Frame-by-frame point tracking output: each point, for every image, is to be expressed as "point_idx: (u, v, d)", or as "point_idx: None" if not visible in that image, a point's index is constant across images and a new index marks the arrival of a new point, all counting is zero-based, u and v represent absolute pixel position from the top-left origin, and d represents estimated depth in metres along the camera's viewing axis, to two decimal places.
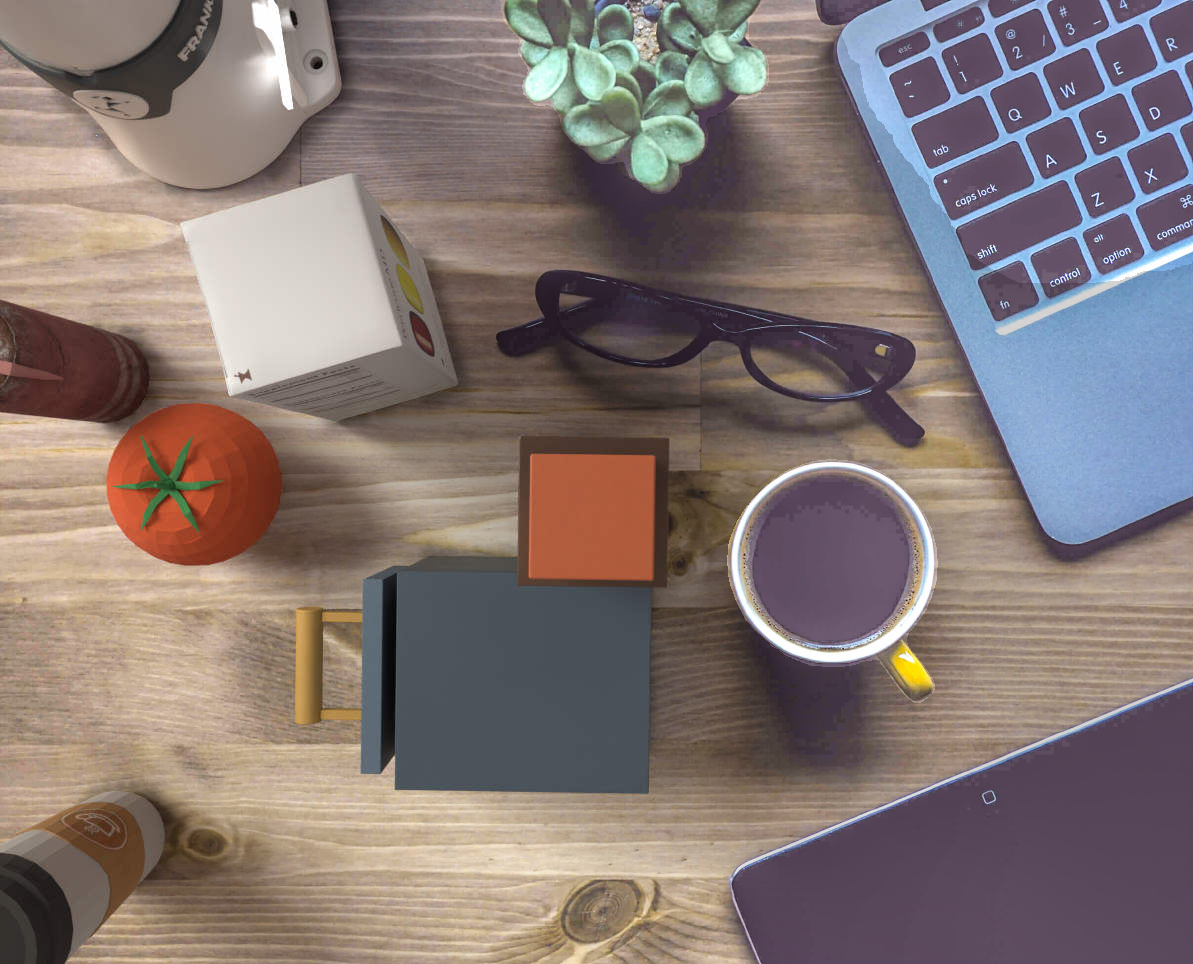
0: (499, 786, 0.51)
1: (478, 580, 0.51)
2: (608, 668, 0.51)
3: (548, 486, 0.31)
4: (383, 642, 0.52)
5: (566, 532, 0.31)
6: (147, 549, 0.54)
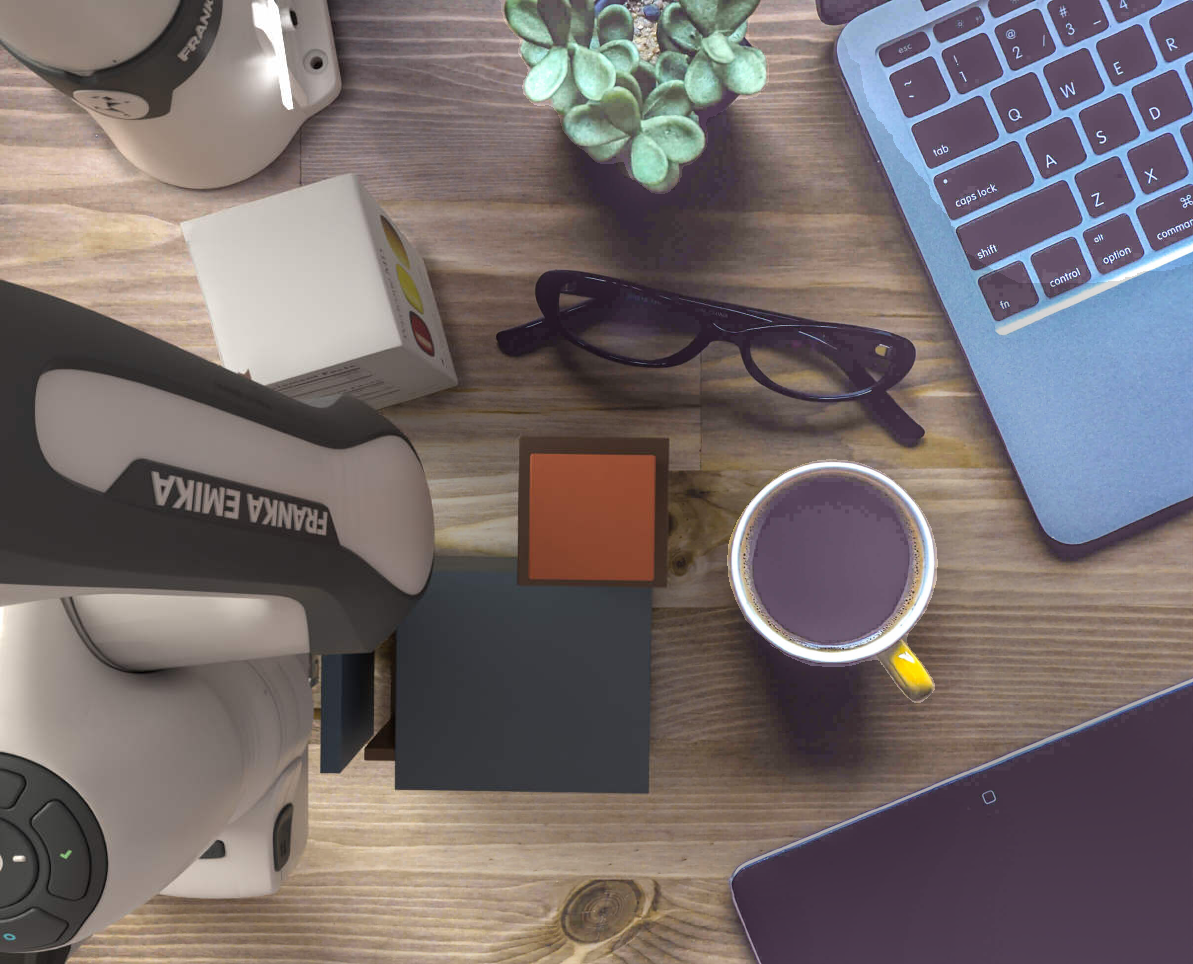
0: (499, 786, 0.51)
1: (478, 580, 0.51)
2: (608, 668, 0.51)
3: (548, 486, 0.31)
4: None
5: (566, 532, 0.31)
6: None
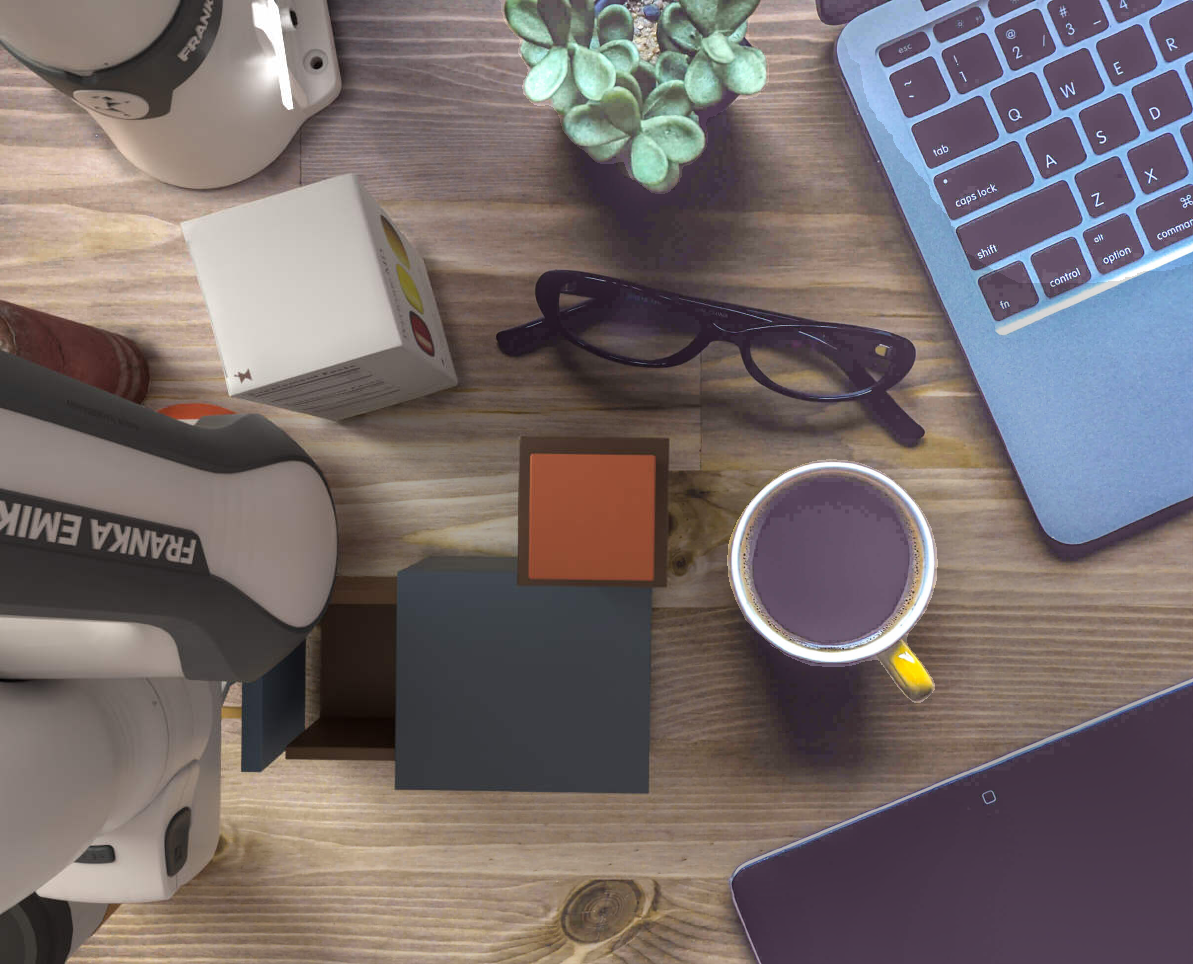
0: (499, 786, 0.51)
1: (478, 580, 0.51)
2: (608, 668, 0.51)
3: (548, 486, 0.31)
4: None
5: (566, 532, 0.31)
6: None
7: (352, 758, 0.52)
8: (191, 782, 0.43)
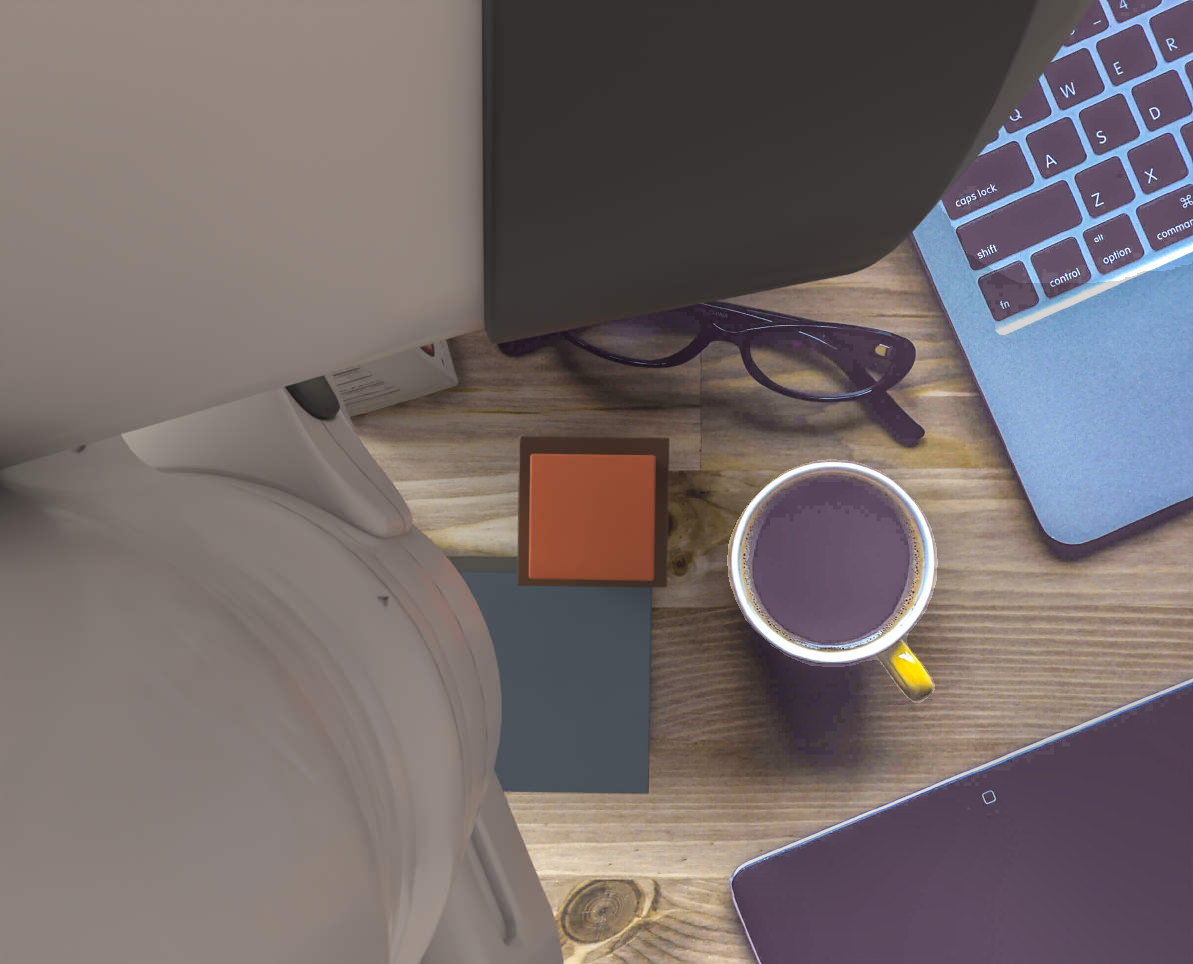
0: None
1: (478, 580, 0.51)
2: (608, 668, 0.51)
3: (548, 486, 0.31)
4: None
5: (566, 532, 0.31)
6: None
7: None
8: None
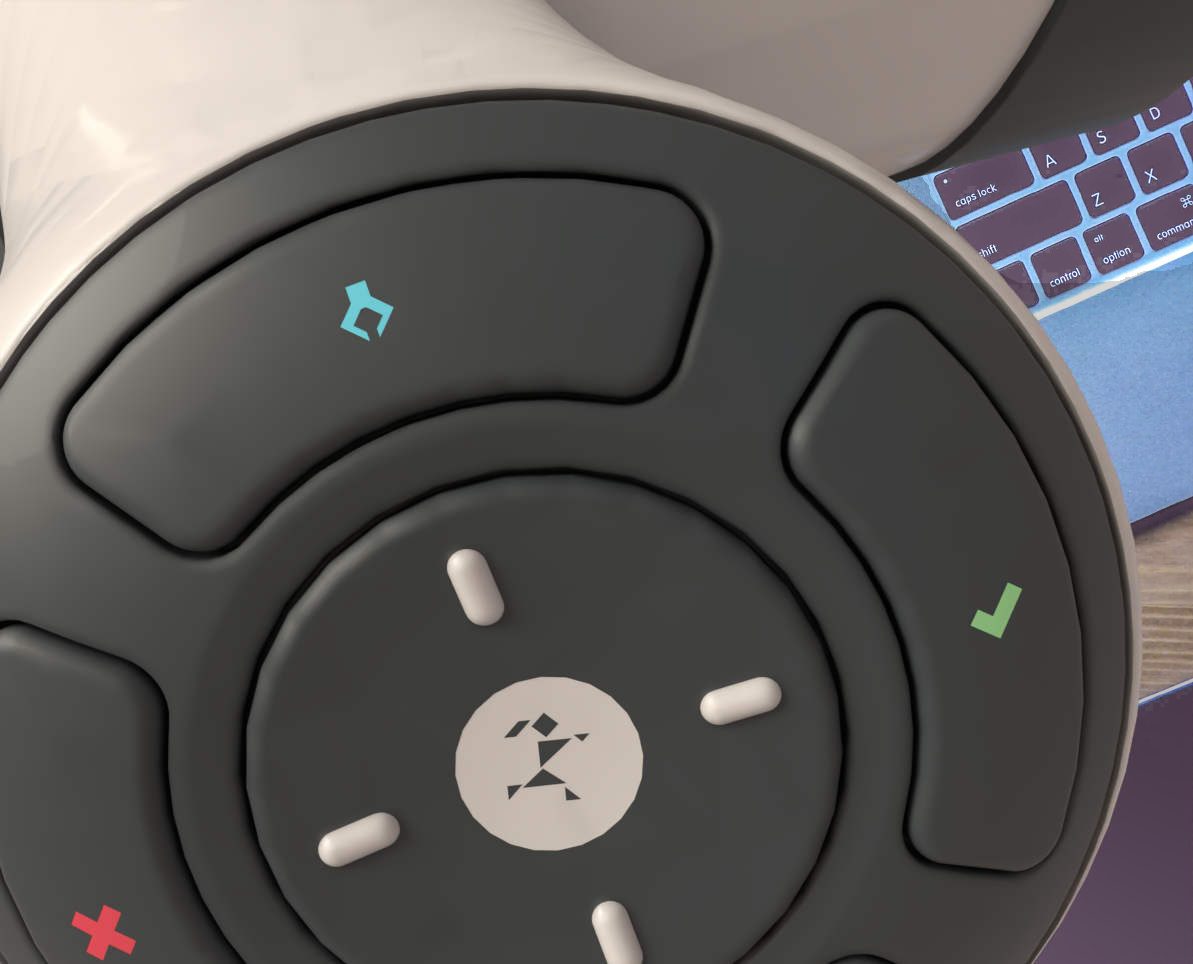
0: None
1: None
2: None
3: None
4: None
5: None
6: None
7: None
8: None
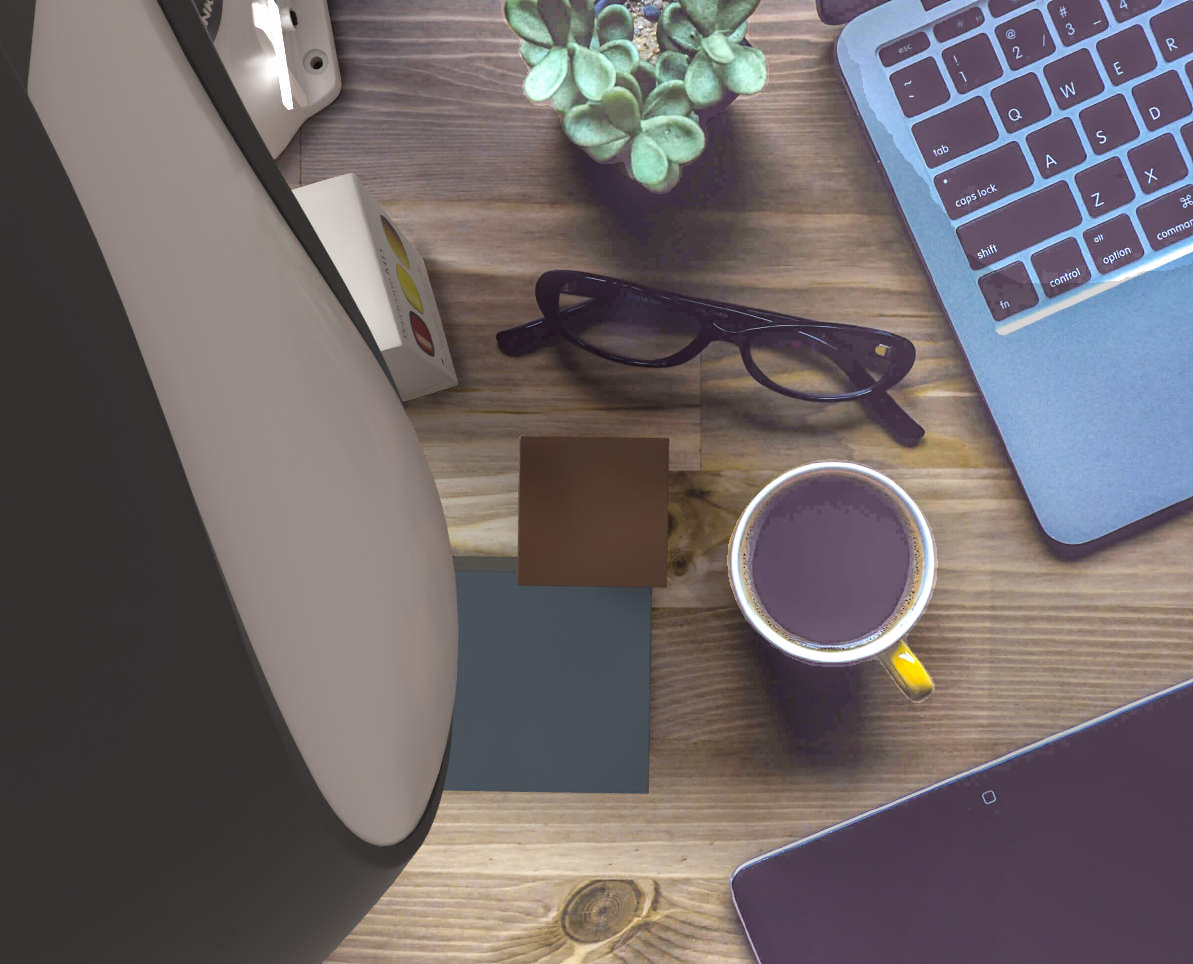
0: (499, 786, 0.51)
1: (478, 580, 0.51)
2: (608, 668, 0.51)
3: None
4: None
5: None
6: None
7: None
8: None
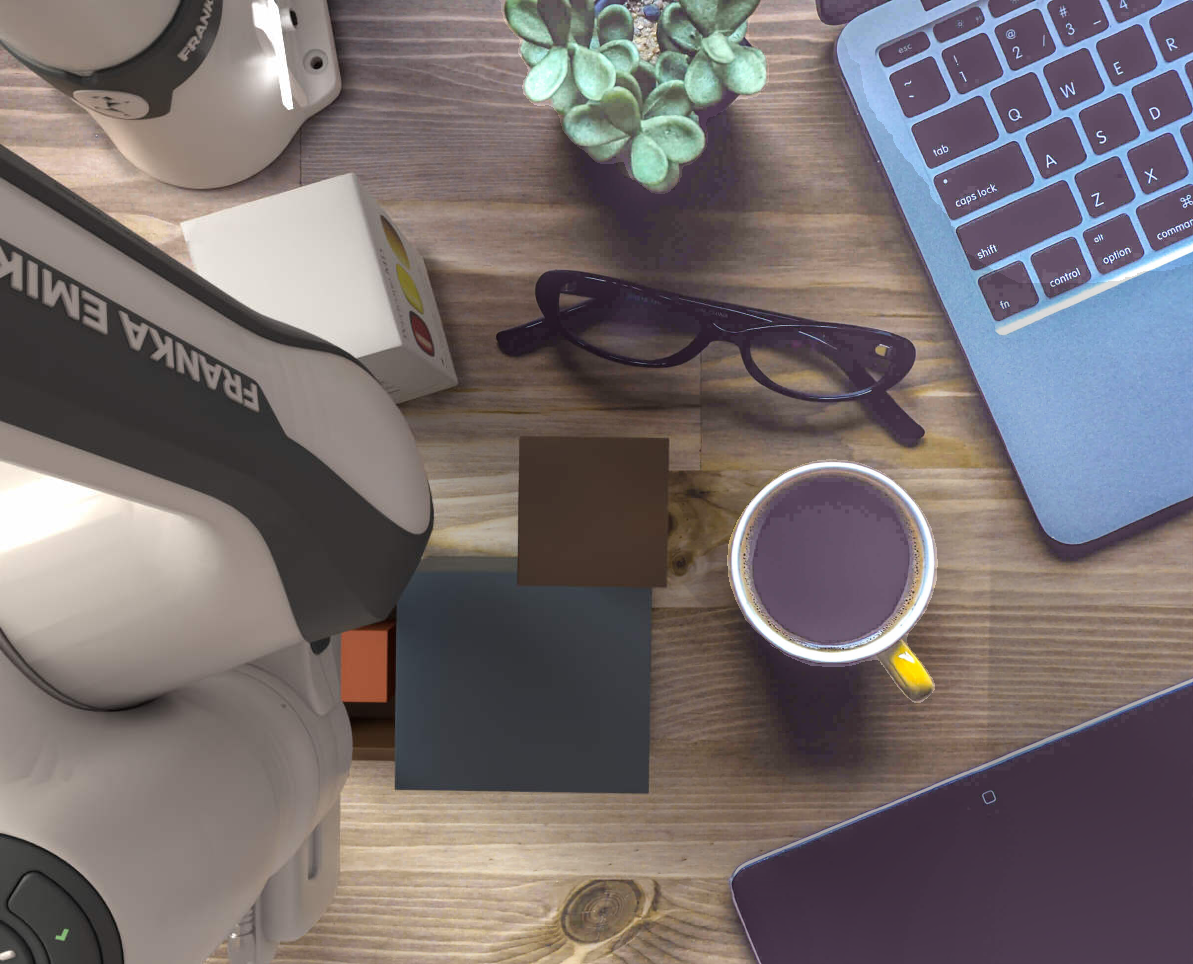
0: (499, 786, 0.51)
1: (478, 580, 0.51)
2: (608, 668, 0.51)
3: None
4: None
5: None
6: None
7: (352, 758, 0.52)
8: None
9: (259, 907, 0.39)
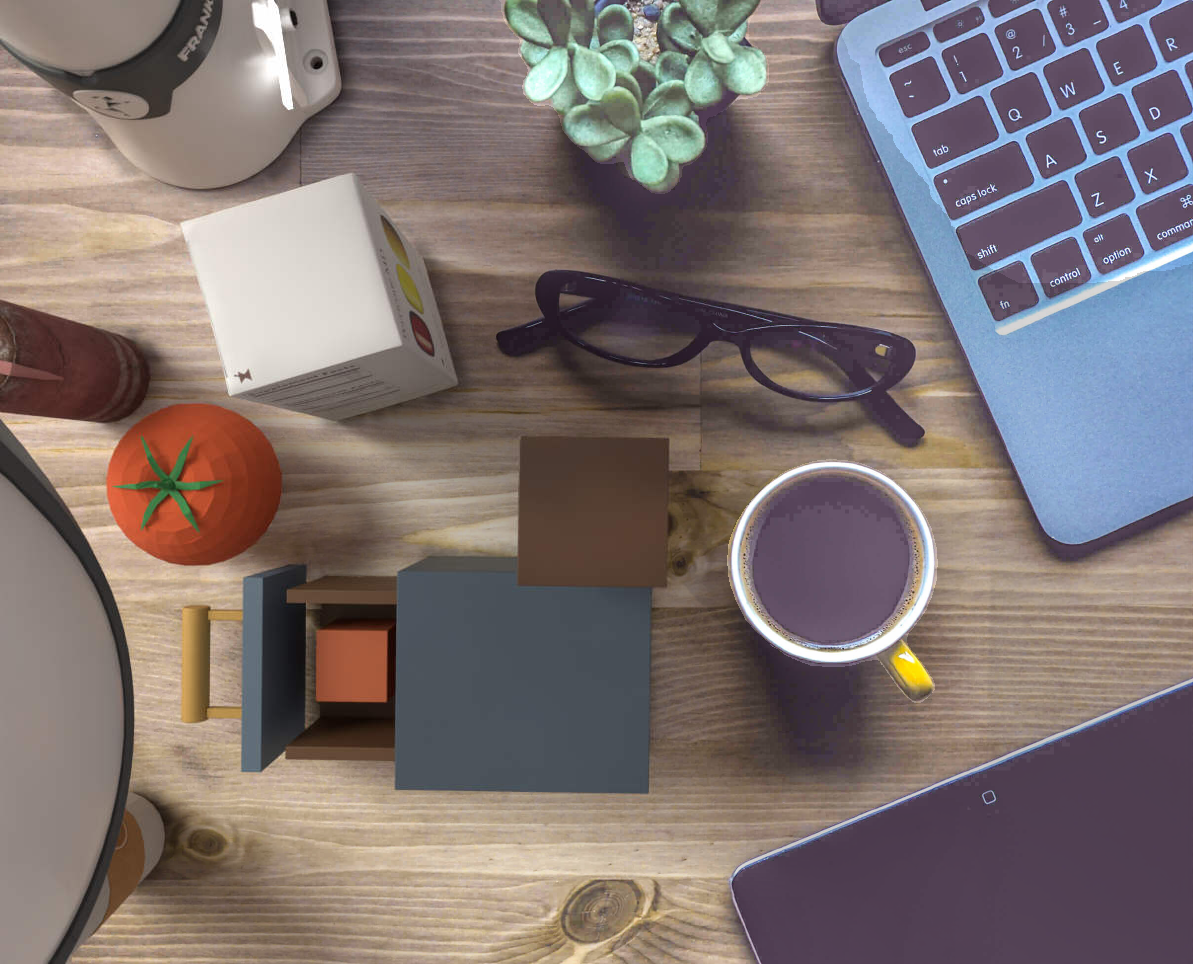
0: (499, 786, 0.51)
1: (478, 580, 0.51)
2: (608, 668, 0.51)
3: (326, 648, 0.54)
4: (264, 640, 0.52)
5: (336, 675, 0.54)
6: (147, 549, 0.54)
7: (352, 758, 0.52)
8: None
9: None
